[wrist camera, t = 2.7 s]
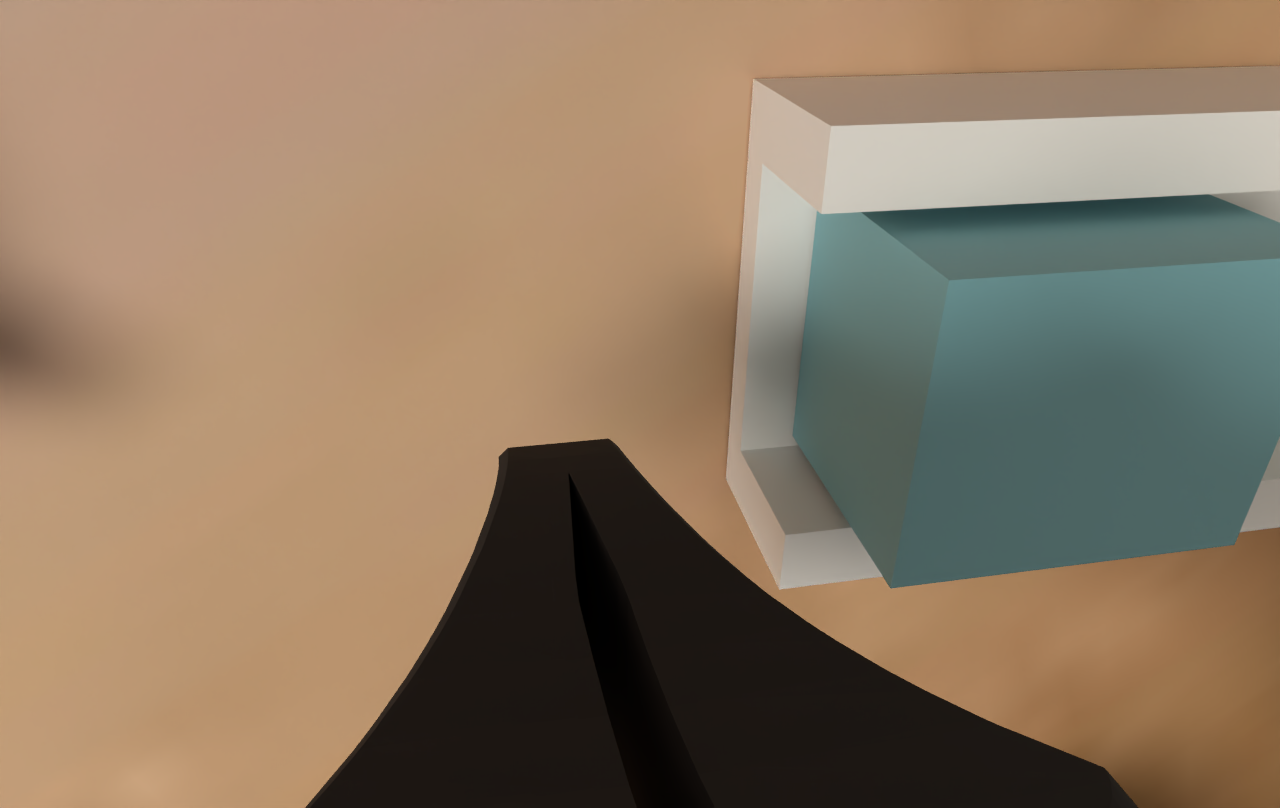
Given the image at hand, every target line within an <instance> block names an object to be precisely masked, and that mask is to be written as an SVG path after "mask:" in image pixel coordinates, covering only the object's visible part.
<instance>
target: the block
mask: <svg viewBox="0 0 1280 808" xmlns="http://www.w3.org/2000/svg"><path fill="white" fill-rule="evenodd" d="M792 436H793V437H794V439H795V440H796V442H797V444H798V445H799V447H800V448H801V450H802V451H803V453H804V454H805V456H806V458H807V459H808V461H809V462H810V464H811V465H812V467H813V468H814V470H815V472H816V473H817V475H818V476H819V478H820V479H821V481H822V483H823V484H824V486H825V487H826V489H827V490H828V492H829V493H830V495H831V497H832V498H833V500H834V501H835V503H836V504H837V506H838V507H839V509H840V511H841V512H842V514H843V515H844V517H845V518H846V520H847V521H848V523H849V525H850V526H851V528H852V529H853V531H854V532H855V534H856V535H857V537H858V539H859V540H860V542H861V543H862V545H863V546H864V548H865V549H866V551H867V553H868V554H869V556H870V557H871V559H872V560H873V562H874V563H875V565H876V567H877V568H878V570H879V571H880V573H881V574H882V576H883V577H884V579H885V581H886V582H887V584H888V585H889V587H890V588H897V587H905V586H913V585H921V584H929V583H937V582H945V581H952V580H960V579H968V578H976V577H984V576H992V575H1000V574H1008V573H1016V572H1024V571H1031V570H1039V569H1047V568H1055V567H1063V566H1071V565H1079V564H1087V563H1095V562H1102V561H1110V560H1118V559H1126V558H1134V557H1142V556H1150V555H1158V554H1166V553H1174V552H1181V551H1189V550H1197V549H1205V548H1213V547H1221V546H1229V545H1234V544H1235V542H1236V540H1237V537H1238V535H1239V532H1240V530H1241V528H1242V525H1243V523H1244V521H1245V518H1246V516H1247V513H1248V511H1249V509H1250V506H1251V504H1252V502H1253V499H1254V497H1255V494H1256V492H1257V490H1258V487H1259V485H1260V483H1261V480H1262V478H1263V475H1264V473H1265V471H1266V468H1267V466H1268V464H1269V461H1270V459H1271V456H1272V454H1273V452H1274V449H1275V447H1276V444H1277V442H1278V440H1279V437H1280V222H1277V221H1275V220H1272V219H1270V218H1267V217H1265V216H1262V215H1260V214H1257V213H1255V212H1252V211H1250V210H1247V209H1245V208H1242V207H1239V206H1237V205H1234V204H1232V203H1229V202H1227V201H1224V200H1222V199H1219V198H1217V197H1214V196H1212V195H1209V194H1202V195H1182V196H1163V197H1144V198H1124V199H1105V200H1085V201H1066V202H1047V203H1027V204H1008V205H988V206H969V207H950V208H930V209H911V210H892V211H872V212H853V213H833V214H821V213H819V212H818V211H817V215H816V224H815V233H814V242H813V252H812V261H811V270H810V279H809V288H808V297H807V307H806V316H805V325H804V334H803V343H802V352H801V362H800V371H799V380H798V389H797V398H796V407H795V417H794V426H793V435H792Z"/></svg>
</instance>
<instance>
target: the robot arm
mask: <svg viewBox="0 0 1280 808" xmlns="http://www.w3.org/2000/svg"><path fill="white" fill-rule="evenodd" d="M305 808H1138V807H1137V806H1136V804H1135V803H1134V802H1133V801H1132V800H1131V798H1130V797H1129V796H1128V795H1127V794H1126V793H1125V791H1124V790H1123V789H1122V788H1121V787H1120V785H1119V784H1118V783H1117V782H1116V781H1115V780H1114V778H1113V777H1112V776H1111V775H1110V774H1109V773H1108V771H1107V770H1106V769H1105V768H1103V767H1101V766H1098V765H1096V764H1093V763H1091V762H1089V761H1086V760H1084V759H1081V758H1079V757H1076V756H1074V755H1071V754H1069V753H1066V752H1064V751H1061V750H1059V749H1056V748H1054V747H1051V746H1049V745H1046V744H1044V743H1041V742H1039V741H1036V740H1034V739H1031V738H1029V737H1027V736H1024V735H1022V734H1019V733H1017V732H1014V731H1012V730H1009V729H1007V728H1004V727H1002V726H999V725H997V724H994V723H992V722H990V721H988V720H986V719H983V718H981V717H979V716H977V715H975V714H973V713H971V712H969V711H967V710H964V709H962V708H960V707H958V706H956V705H954V704H952V703H950V702H948V701H946V700H944V699H942V698H940V697H937V696H935V695H933V694H931V693H929V692H927V691H925V690H923V689H921V688H919V687H917V686H916V685H914V684H912V683H910V682H908V681H906V680H904V679H902V678H900V677H898V676H897V675H895V674H893V673H891V672H889V671H887V670H885V669H884V668H882V667H880V666H879V665H877V664H875V663H873V662H872V661H870V660H868V659H867V658H865V657H863V656H862V655H860V654H858V653H856V652H855V651H853V650H851V649H850V648H848V647H846V646H845V645H843V644H841V643H839V642H838V641H836V640H834V639H833V638H831V637H830V636H828V635H827V634H825V633H824V632H822V631H820V630H819V629H817V628H816V627H814V626H813V625H811V624H810V623H808V622H807V621H805V620H804V619H802V618H801V617H800V616H798V615H797V614H795V613H794V612H793V611H791V610H790V609H788V608H787V607H786V606H784V605H783V604H781V603H780V602H778V601H777V600H776V599H774V598H773V597H771V596H770V595H769V594H767V593H766V592H765V591H763V590H762V589H761V588H760V587H758V586H757V585H756V584H755V583H754V582H752V581H751V580H750V579H749V578H747V577H746V576H745V575H744V574H743V573H741V572H740V571H739V570H738V569H737V568H736V567H734V566H733V565H732V564H731V563H730V562H729V561H728V560H726V559H725V558H724V557H723V556H722V555H721V554H719V553H718V552H717V551H716V550H715V549H714V548H713V547H712V546H711V545H710V544H709V543H707V542H706V541H705V540H704V539H703V538H702V537H701V536H700V535H699V534H698V533H697V532H696V531H695V530H694V529H693V528H692V527H691V526H690V525H689V524H688V523H687V522H686V521H685V520H684V519H683V518H682V517H681V516H680V515H679V514H678V513H677V512H676V511H675V510H674V509H673V508H672V507H671V506H670V505H669V504H668V503H667V502H666V501H665V500H664V499H663V498H662V497H661V496H660V495H659V494H658V492H657V491H656V490H655V489H654V488H653V487H652V486H651V485H650V484H649V483H648V481H647V480H646V479H645V478H644V477H643V476H642V475H641V473H640V472H639V471H638V470H637V469H636V468H635V467H634V465H633V464H632V463H631V462H630V461H629V459H628V458H627V457H626V456H625V455H624V453H623V452H622V451H621V450H620V448H619V447H618V446H617V445H616V444H615V443H613V442H612V441H611V440H610V439H600V440H589V441H578V442H567V443H557V444H546V445H535V446H524V447H513V448H507V449H506V450H505V451H504V452H503V453H502V454H501V455H500V456H499V470H498V476H497V482H496V486H495V490H494V494H493V498H492V501H491V504H490V508H489V511H488V514H487V517H486V520H485V522H484V525H483V528H482V530H481V533H480V536H479V538H478V541H477V544H476V546H475V549H474V552H473V554H472V556H471V559H470V561H469V563H468V566H467V568H466V570H465V572H464V574H463V576H462V578H461V580H460V582H459V584H458V586H457V589H456V591H455V593H454V595H453V597H452V599H451V601H450V603H449V605H448V607H447V609H446V611H445V613H444V615H443V617H442V618H441V620H440V622H439V624H438V626H437V628H436V629H435V631H434V633H433V635H432V636H431V638H430V640H429V642H428V643H427V645H426V647H425V648H424V650H423V651H422V653H421V655H420V656H419V658H418V660H417V661H416V663H415V664H414V666H413V668H412V669H411V671H410V672H409V674H408V676H407V677H406V679H405V680H404V681H403V683H402V684H401V686H400V687H399V689H398V690H397V691H396V693H395V694H394V696H393V697H392V699H391V700H390V702H389V703H388V704H387V706H386V707H385V709H384V710H383V712H382V713H381V715H380V716H379V717H378V719H377V720H376V722H375V723H374V724H373V726H372V727H371V728H370V730H369V731H368V732H367V734H366V735H365V736H364V738H363V739H362V740H361V742H360V743H359V744H358V745H357V747H356V748H355V749H354V751H353V752H352V753H351V754H350V755H349V756H348V758H347V759H346V760H345V761H344V762H343V764H342V765H341V766H340V767H339V768H338V770H337V771H336V772H335V773H334V774H333V775H332V777H331V778H330V779H329V780H328V781H327V783H326V784H325V785H324V786H323V787H322V789H321V790H320V791H319V792H318V793H317V794H316V796H315V797H314V798H313V799H312V800H311V802H310V803H309V804H308V805H307V806H306V807H305Z"/></svg>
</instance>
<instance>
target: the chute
mask: <svg viewBox="0 0 1280 808" xmlns="http://www.w3.org/2000/svg"><path fill="white" fill-rule="evenodd" d="M1202 194H1209V195H1212V196H1214V197H1217V198H1219V199H1222V200H1224V201H1227V202H1229V203H1232V204H1234V205H1237V206H1239V207H1242V208H1245V209H1247V210H1250V211H1252V212H1255V213H1257V214H1260V215H1262V216H1265V217H1267V218H1270V219H1272V220H1275V221H1277V222H1280V66H1248V67H1208V68H1167V69H1127V70H1086V71H1046V72H1006V73H965V74H925V75H884V76H844V77H803V78H763V79H753V91H752V106H751V120H750V135H749V150H748V164H747V179H746V193H745V208H744V222H743V237H742V252H741V266H740V281H739V295H738V310H737V324H736V339H735V354H734V368H733V383H732V397H731V412H730V427H729V441H728V456H727V470H726V480H727V482H728V484H729V486H730V488H731V490H732V493H733V495H734V497H735V499H736V501H737V503H738V505H739V507H740V509H741V511H742V513H743V515H744V517H745V519H746V521H747V524H748V526H749V528H750V530H751V532H752V534H753V536H754V538H755V540H756V542H757V544H758V546H759V548H760V550H761V553H762V555H763V557H764V559H765V561H766V563H767V565H768V567H769V569H770V571H771V573H772V575H773V577H774V579H775V582H776V584H777V586H778V588H779V589H786V588H795V587H803V586H811V585H819V584H827V583H835V582H843V581H851V580H859V579H867V578H875V577H883V576H882V574H881V573H880V571H879V570H878V568H877V567H876V565H875V563H874V562H873V560H872V559H871V557H870V556H869V554H868V553H867V551H866V549H865V548H864V546H863V545H862V543H861V542H860V540H859V539H858V537H857V535H856V534H855V532H854V531H853V529H852V528H851V526H850V525H849V523H848V521H847V520H846V518H845V517H844V515H843V514H842V512H841V511H840V509H839V507H838V506H837V504H836V503H835V501H834V500H833V498H832V497H831V495H830V493H829V492H828V490H827V489H826V487H825V486H824V484H823V483H822V481H821V479H820V478H819V476H818V475H817V473H816V472H815V470H814V468H813V467H812V465H811V464H810V462H809V461H808V459H807V458H806V456H805V454H804V453H803V451H802V450H801V448H800V447H799V445H798V444H797V442H796V440H795V439H794V437H793V436H792V435H793V426H794V417H795V407H796V398H797V389H798V380H799V371H800V362H801V352H802V343H803V334H804V325H805V316H806V307H807V297H808V288H809V279H810V270H811V261H812V252H813V242H814V233H815V224H816V215H817V211H818V212H819V213H821V214H833V213H853V212H872V211H892V210H911V209H930V208H950V207H969V206H988V205H1008V204H1027V203H1047V202H1066V201H1085V200H1105V199H1124V198H1144V197H1163V196H1182V195H1202ZM1278 527H1280V437H1279V440H1278V442H1277V444H1276V447H1275V449H1274V452H1273V454H1272V456H1271V459H1270V461H1269V464H1268V466H1267V468H1266V471H1265V473H1264V475H1263V478H1262V480H1261V483H1260V485H1259V487H1258V490H1257V492H1256V494H1255V497H1254V499H1253V502H1252V504H1251V506H1250V509H1249V511H1248V513H1247V516H1246V518H1245V521H1244V523H1243V525H1242V528H1241V530H1240V532H1246V531H1254V530H1262V529H1270V528H1278Z"/></svg>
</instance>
